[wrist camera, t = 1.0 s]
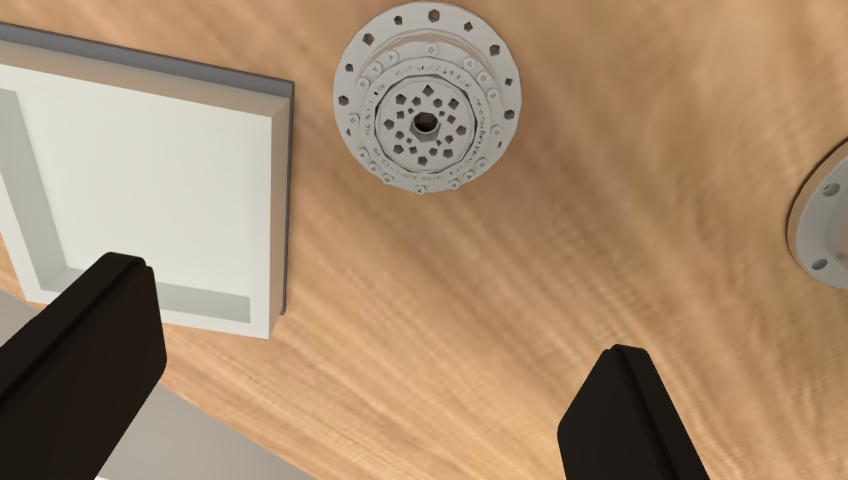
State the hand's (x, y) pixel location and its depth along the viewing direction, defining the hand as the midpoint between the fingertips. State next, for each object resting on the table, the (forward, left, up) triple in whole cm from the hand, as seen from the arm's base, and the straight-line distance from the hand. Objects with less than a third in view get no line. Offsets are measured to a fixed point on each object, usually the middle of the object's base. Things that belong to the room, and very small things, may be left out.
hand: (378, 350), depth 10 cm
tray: (+14, +9, -18) cm, 25 cm away
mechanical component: (-1, 0, -19) cm, 19 cm away
